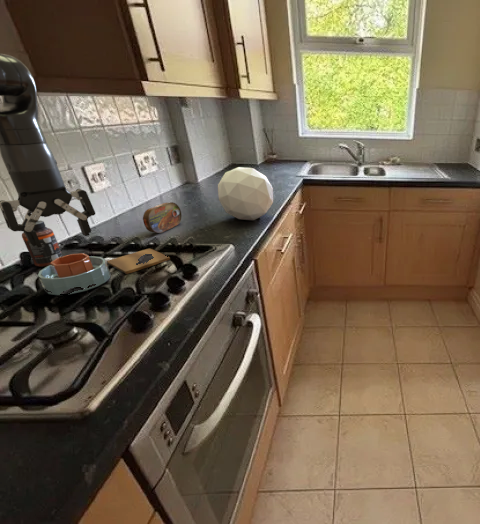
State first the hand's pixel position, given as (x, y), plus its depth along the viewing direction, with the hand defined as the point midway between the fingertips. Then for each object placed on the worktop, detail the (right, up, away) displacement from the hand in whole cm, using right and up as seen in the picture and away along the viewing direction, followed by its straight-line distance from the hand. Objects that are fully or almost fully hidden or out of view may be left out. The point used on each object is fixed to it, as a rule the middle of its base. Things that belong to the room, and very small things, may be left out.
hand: (63, 240), depth 74 cm
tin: (-2, +7, +40) cm, 41 cm away
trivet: (+6, -5, +16) cm, 18 cm away
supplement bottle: (-17, -5, +14) cm, 23 cm away
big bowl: (0, -10, +5) cm, 11 cm away
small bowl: (0, -9, +4) cm, 11 cm away
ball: (+23, +12, +53) cm, 59 cm away
